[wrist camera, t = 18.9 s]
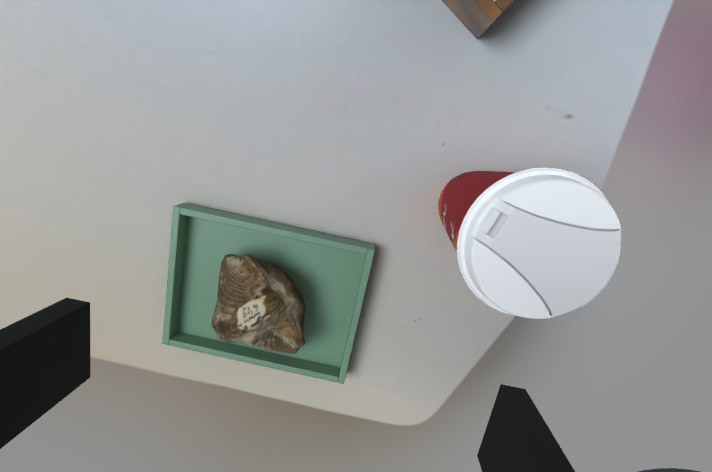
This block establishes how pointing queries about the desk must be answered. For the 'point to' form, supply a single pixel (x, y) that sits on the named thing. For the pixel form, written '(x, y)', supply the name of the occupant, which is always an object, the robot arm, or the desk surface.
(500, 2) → the rectangular frame
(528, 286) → the paper cup
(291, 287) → the fossilized seashell
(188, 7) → the desk surface
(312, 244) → the tray
